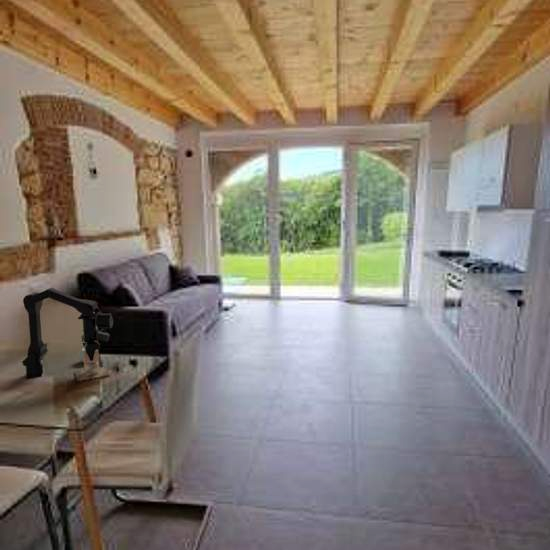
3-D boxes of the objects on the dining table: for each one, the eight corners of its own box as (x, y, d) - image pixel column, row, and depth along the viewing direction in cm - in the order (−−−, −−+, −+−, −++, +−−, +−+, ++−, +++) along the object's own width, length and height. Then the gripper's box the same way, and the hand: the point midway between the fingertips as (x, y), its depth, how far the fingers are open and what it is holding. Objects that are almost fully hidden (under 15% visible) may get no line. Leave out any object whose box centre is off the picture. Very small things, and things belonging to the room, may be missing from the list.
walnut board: (77, 381, 191) (77, 380, 190) (74, 373, 201) (74, 371, 201) (109, 376, 198) (109, 374, 198) (105, 368, 208) (105, 366, 208)
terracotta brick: (85, 363, 195) (84, 353, 194) (84, 360, 198) (83, 350, 198) (98, 361, 198) (98, 351, 197) (97, 358, 201) (97, 349, 201)
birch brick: (85, 375, 196) (85, 365, 195) (84, 372, 199) (84, 362, 199) (99, 373, 199) (98, 363, 198) (97, 370, 202) (97, 360, 202)
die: (78, 367, 210) (90, 353, 209) (70, 356, 213) (81, 341, 213) (91, 368, 217) (102, 354, 216) (83, 357, 221) (94, 343, 220)
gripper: (111, 330, 192) (112, 362, 194) (104, 321, 208) (105, 350, 210) (85, 333, 186) (86, 366, 189) (80, 323, 202) (81, 354, 204)
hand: (91, 359), depth 198 cm, fingers closed on terracotta brick, 4 cm apart
